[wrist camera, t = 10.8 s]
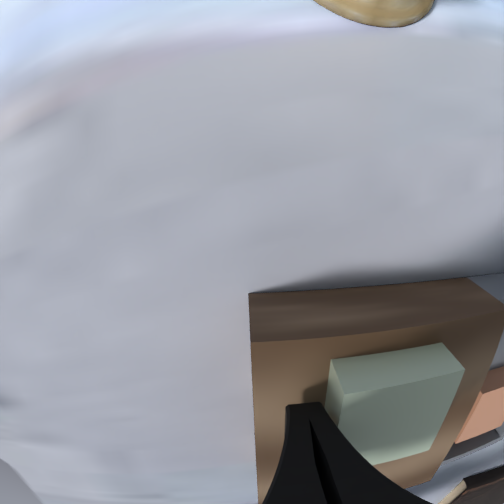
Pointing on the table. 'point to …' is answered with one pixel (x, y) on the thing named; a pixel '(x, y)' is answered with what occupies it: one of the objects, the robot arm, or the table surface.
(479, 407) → the terracotta tile
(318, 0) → the hand bell
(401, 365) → the sage green tile
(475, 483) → the hardcover book
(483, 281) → the grey rimmed tray
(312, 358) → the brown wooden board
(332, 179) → the table surface
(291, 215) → the table surface
